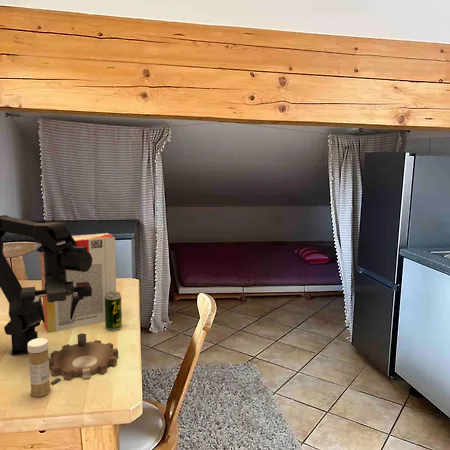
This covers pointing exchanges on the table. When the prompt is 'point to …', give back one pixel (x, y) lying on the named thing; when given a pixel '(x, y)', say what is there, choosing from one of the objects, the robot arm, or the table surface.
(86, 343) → the brown gear wheel
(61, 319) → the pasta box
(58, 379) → the index mark
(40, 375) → the sprinkles bottle
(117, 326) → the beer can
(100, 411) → the table surface
